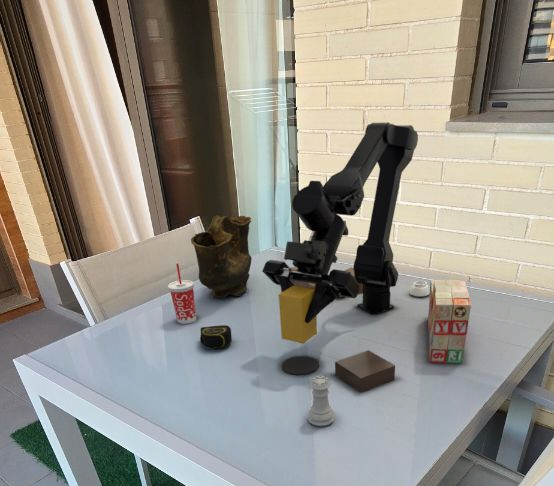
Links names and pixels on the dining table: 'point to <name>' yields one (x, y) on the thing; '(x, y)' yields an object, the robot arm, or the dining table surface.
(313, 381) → the rook chess piece
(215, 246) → the pottery vessel
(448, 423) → the dining table surface
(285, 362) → the rubber mat
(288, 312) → the ochre block
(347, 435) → the dining table surface
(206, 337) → the tape measure
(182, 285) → the beverage cup
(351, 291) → the robot arm
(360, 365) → the walnut block
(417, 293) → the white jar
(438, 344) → the stack of blocks
